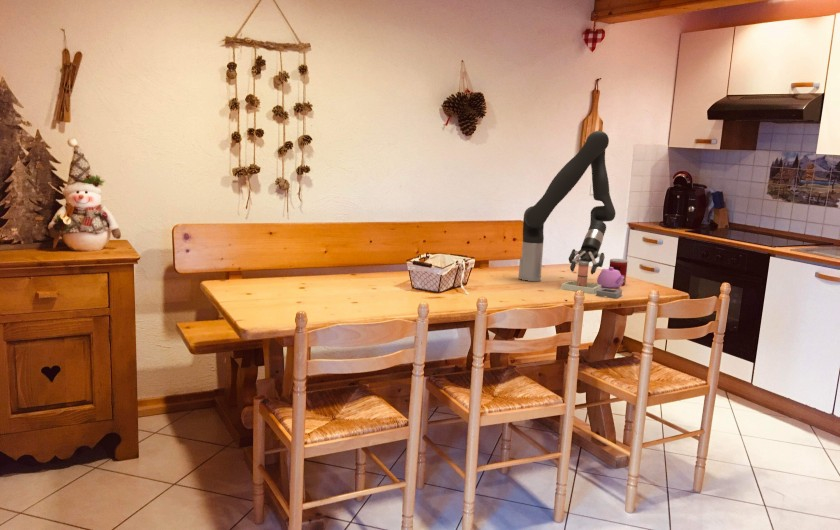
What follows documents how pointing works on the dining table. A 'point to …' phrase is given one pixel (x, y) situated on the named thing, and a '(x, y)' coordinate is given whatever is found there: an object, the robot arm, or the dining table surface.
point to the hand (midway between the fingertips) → (581, 271)
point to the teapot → (610, 278)
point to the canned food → (619, 267)
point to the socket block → (609, 293)
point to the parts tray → (580, 287)
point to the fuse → (582, 273)
